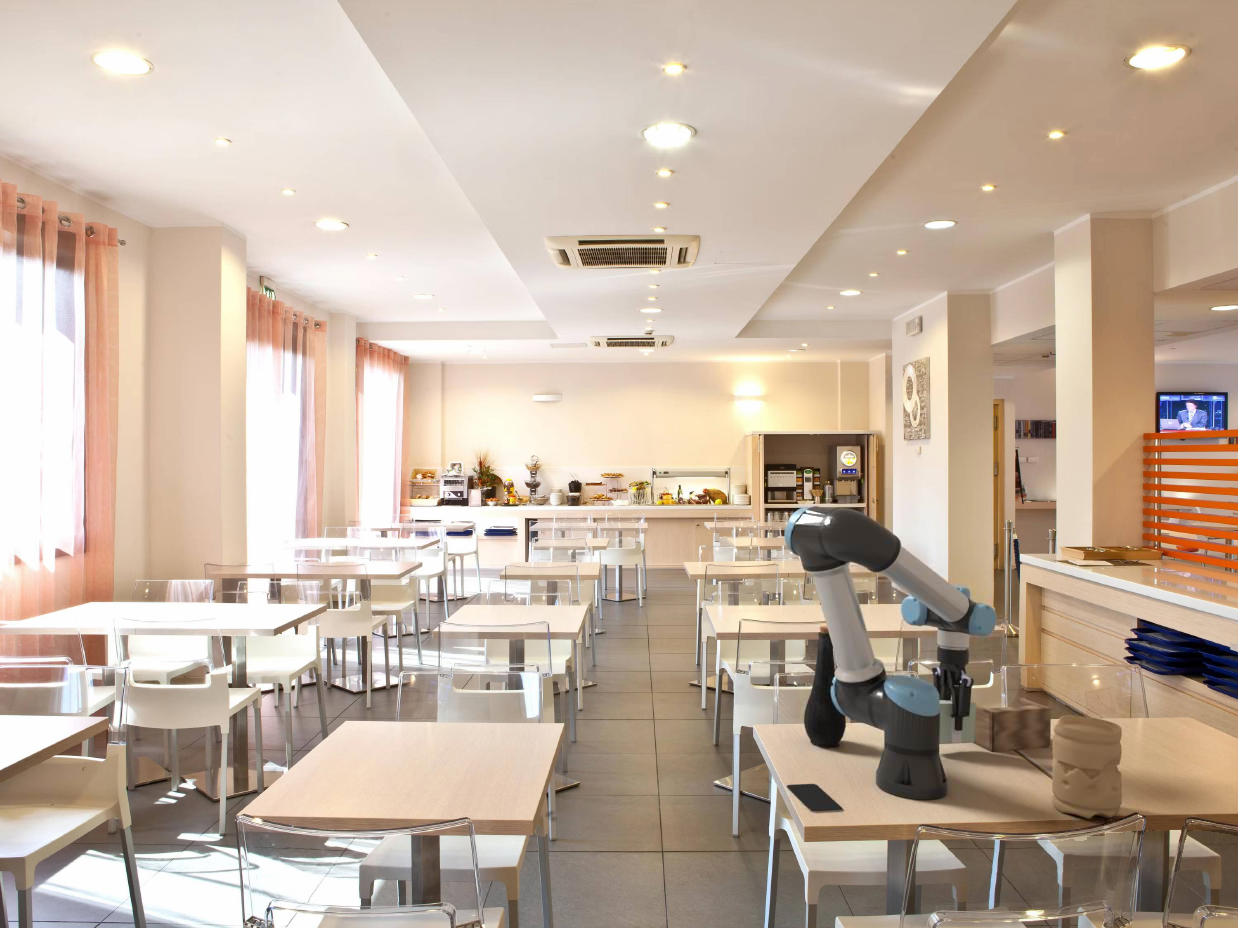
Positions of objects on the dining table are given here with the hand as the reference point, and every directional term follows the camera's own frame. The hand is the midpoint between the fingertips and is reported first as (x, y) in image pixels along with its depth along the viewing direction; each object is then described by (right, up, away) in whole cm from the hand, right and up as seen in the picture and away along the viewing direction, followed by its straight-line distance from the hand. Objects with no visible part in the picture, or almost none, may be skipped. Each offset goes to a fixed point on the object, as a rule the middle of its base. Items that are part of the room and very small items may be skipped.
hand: (950, 740), depth 208 cm
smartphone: (-42, -2, -32) cm, 53 cm away
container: (+14, -3, -36) cm, 39 cm away
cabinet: (+18, -4, +11) cm, 21 cm away
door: (0, 0, 0) cm, 0 cm away
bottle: (-30, -3, +6) cm, 31 cm away
